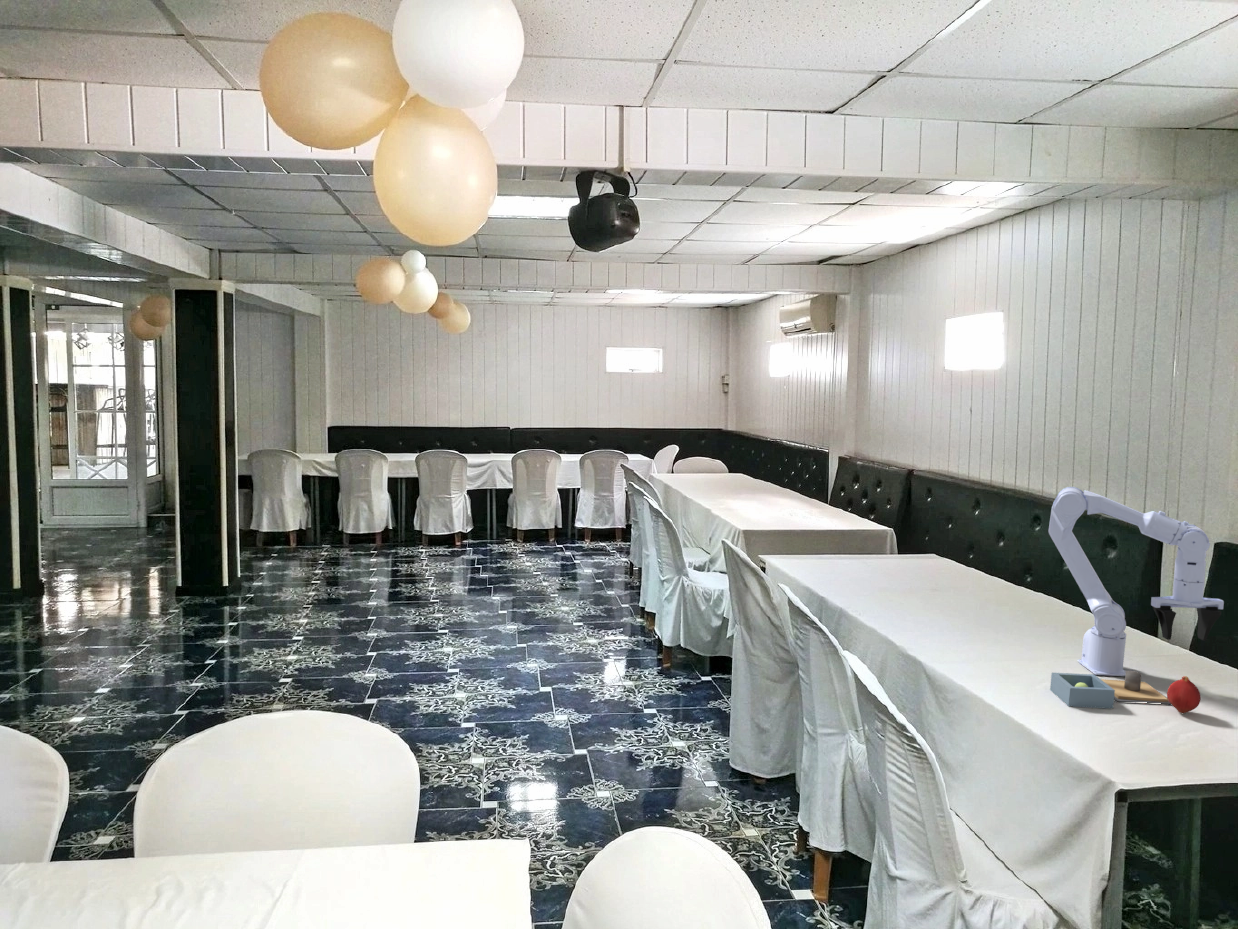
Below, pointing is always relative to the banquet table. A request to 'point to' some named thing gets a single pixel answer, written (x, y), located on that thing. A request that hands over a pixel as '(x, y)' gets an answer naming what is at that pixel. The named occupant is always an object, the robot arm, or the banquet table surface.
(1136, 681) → the lid
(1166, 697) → the mat
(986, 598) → the banquet table surface
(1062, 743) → the banquet table surface
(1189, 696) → the pomegranate
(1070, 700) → the blue-grey square box
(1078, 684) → the lime
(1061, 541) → the robot arm
